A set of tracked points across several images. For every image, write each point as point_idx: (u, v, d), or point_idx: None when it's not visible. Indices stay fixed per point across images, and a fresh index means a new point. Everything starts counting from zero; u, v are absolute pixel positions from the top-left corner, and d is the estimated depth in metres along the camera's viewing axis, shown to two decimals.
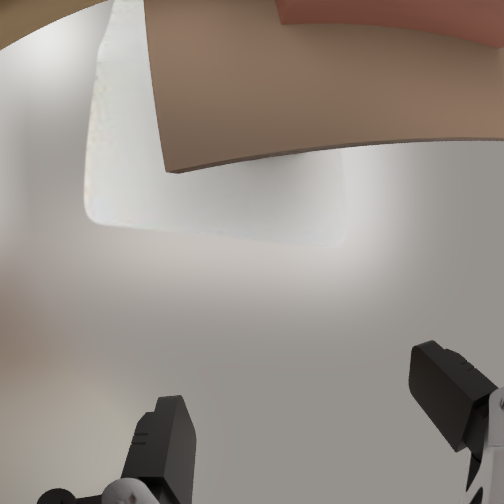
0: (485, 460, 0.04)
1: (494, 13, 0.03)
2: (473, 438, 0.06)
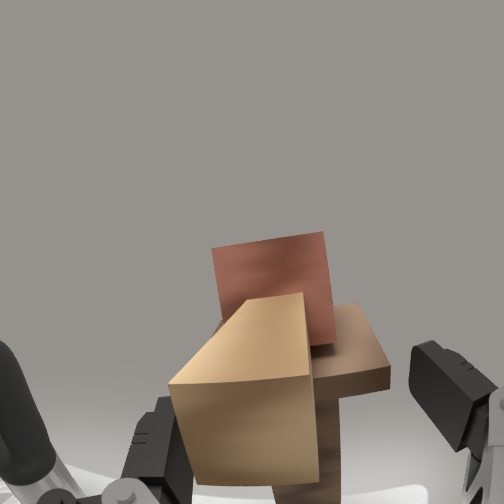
0: (485, 460, 0.04)
1: None
2: (473, 438, 0.06)
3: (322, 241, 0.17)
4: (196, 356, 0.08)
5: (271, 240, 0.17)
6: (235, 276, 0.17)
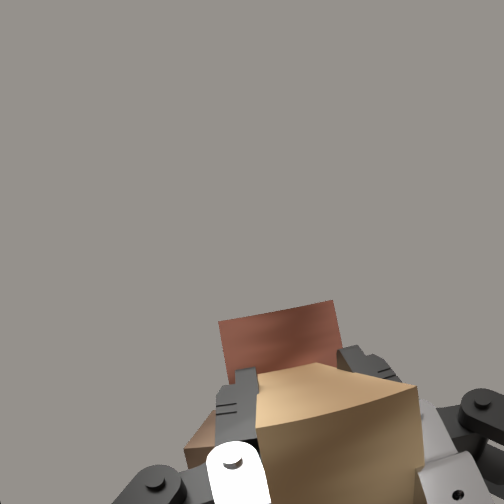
0: None
1: None
2: None
3: (333, 309, 0.16)
4: (259, 407, 0.07)
5: (281, 311, 0.16)
6: (245, 350, 0.16)
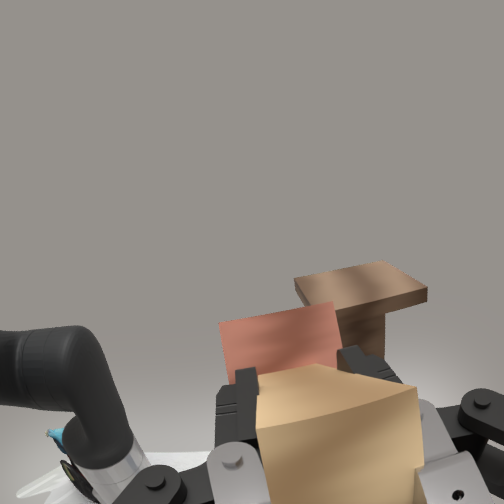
0: None
1: None
2: None
3: (333, 310, 0.16)
4: (260, 408, 0.07)
5: (281, 312, 0.16)
6: (245, 351, 0.16)
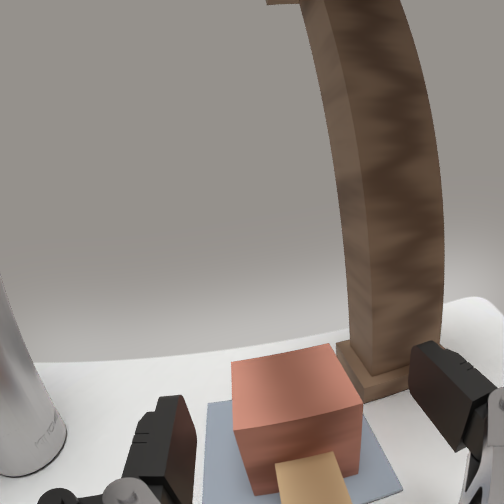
0: (484, 460, 0.04)
1: None
2: (472, 438, 0.06)
3: (360, 411, 0.13)
4: None
5: (305, 418, 0.13)
6: (262, 449, 0.13)
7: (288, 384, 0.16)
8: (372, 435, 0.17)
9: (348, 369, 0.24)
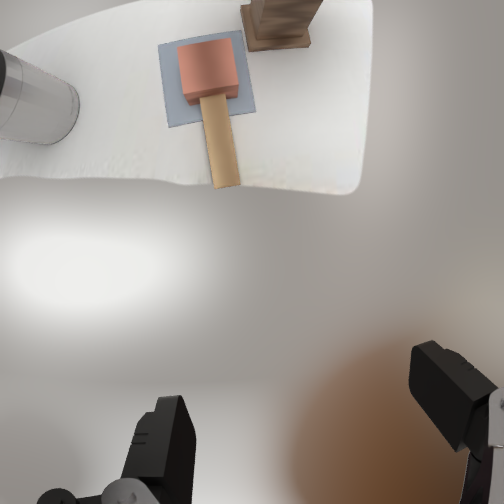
0: (485, 460, 0.04)
1: None
2: (473, 438, 0.06)
3: (237, 86, 0.32)
4: (212, 173, 0.36)
5: (213, 88, 0.31)
6: (194, 95, 0.33)
7: (206, 66, 0.30)
8: (248, 75, 0.36)
9: (244, 27, 0.34)
